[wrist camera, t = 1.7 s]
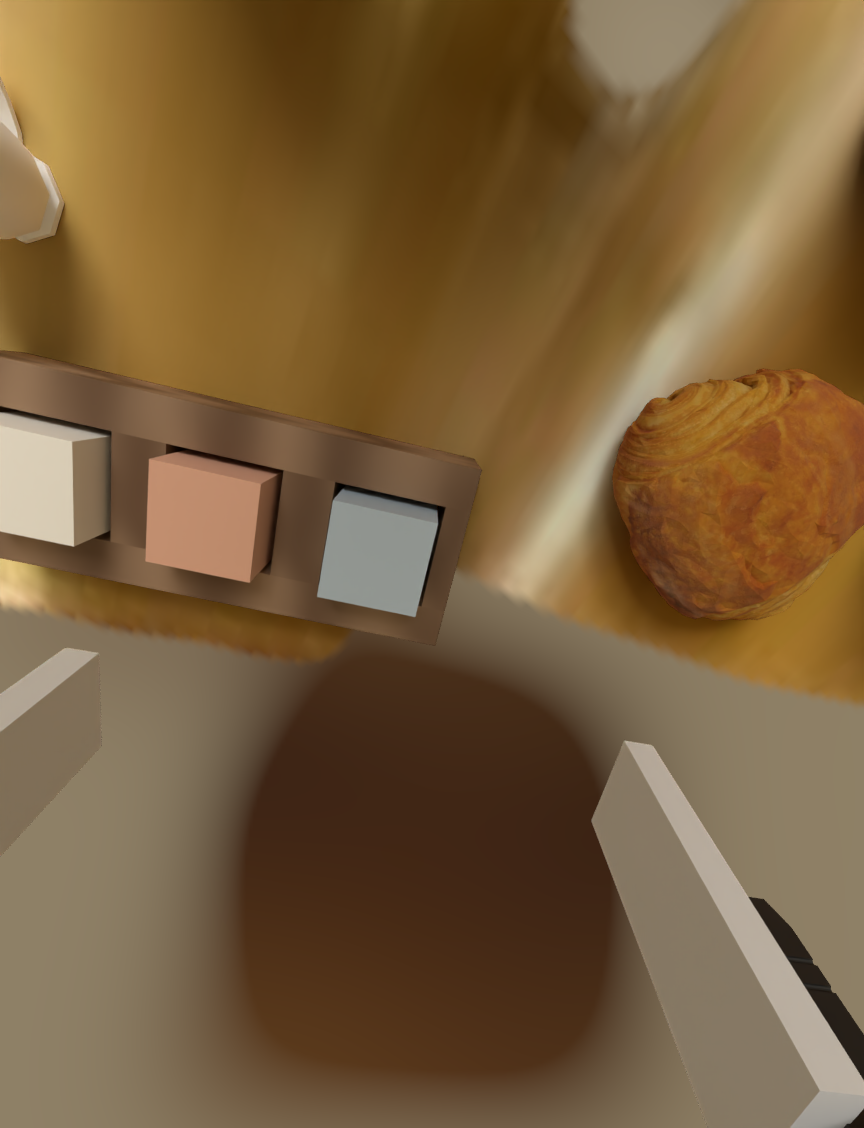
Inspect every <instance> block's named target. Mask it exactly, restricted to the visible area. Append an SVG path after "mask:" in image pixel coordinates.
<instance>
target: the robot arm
mask: <svg viewBox="0 0 864 1128" xmlns="http://www.w3.org/2000/svg"><path fill="white" fill-rule="evenodd" d="M101 738H102V736H101V702H100V671H99V653H95V652H89V651H84V650H77V649H72V648H64V649H63V650H61V651H60V652H59V653H57V654H56V655H55V656H53V657H52V658H50V659H49V660H47V661H46V662H45V663H43V664H42V665H40V666H39V667H37V668H36V669H35V670H33V671H32V672H30V673H29V674H28V675H26V676H25V677H24V678H22V679H21V680H19V681H18V682H16V683H15V684H14V685H12V686H11V687H10V688H8V689H7V690H5V691H4V692H2V693H1V694H0V856H1V855H2V854H3V853H4V852H5V851H6V850H7V849H8V848H9V846H11V844H12V843H13V842H14V841H15V840H16V839H17V838H18V837H19V836H20V834H21V833H22V832H23V831H24V830H25V829H26V828H27V827H28V826H29V825H30V824H31V823H32V822H33V820H34V819H35V818H36V817H37V816H38V815H39V814H40V813H41V812H42V811H43V810H44V808H45V807H46V806H47V805H48V804H49V803H50V802H51V801H52V800H53V799H54V798H55V796H56V795H57V794H58V793H59V792H60V791H61V790H62V789H63V788H64V787H65V786H66V784H67V783H68V782H69V781H70V780H71V779H72V778H73V777H74V776H75V775H76V773H77V772H78V771H79V770H80V769H81V768H82V767H83V766H84V765H85V764H86V763H87V761H88V760H89V759H90V758H91V757H92V756H93V755H94V754H95V752H97V751H98V750H99V748H100V747H101V746H102V739H101ZM592 824H593V826H594V829H595V832H596V834H597V837H598V840H599V842H600V844H601V848H602V850H603V853H604V855H605V858H606V861H607V863H608V866H609V869H610V871H611V874H612V876H613V879H614V882H615V884H616V887H617V890H618V892H619V895H620V897H621V900H622V903H623V906H624V908H625V911H626V913H627V916H628V919H629V921H630V924H631V927H632V929H633V932H634V934H635V937H636V940H637V943H638V945H639V948H640V950H641V953H642V956H643V958H644V961H645V964H646V966H647V969H648V972H649V974H650V977H651V980H652V982H653V985H654V988H655V990H656V993H657V995H658V998H659V1001H660V1003H661V1006H662V1008H663V1011H664V1014H665V1017H666V1019H667V1022H668V1025H669V1027H670V1030H671V1032H672V1035H673V1038H674V1040H675V1043H676V1046H677V1048H678V1051H679V1054H680V1056H681V1059H682V1061H683V1064H684V1067H685V1069H686V1072H687V1075H688V1077H689V1080H690V1083H691V1085H692V1088H693V1090H694V1093H695V1096H696V1098H697V1101H698V1104H699V1106H700V1109H701V1111H702V1114H703V1117H704V1120H705V1122H706V1125H707V1128H864V1035H863V1033H862V1031H861V1030H860V1028H859V1027H858V1025H857V1024H856V1023H855V1021H854V1020H853V1018H852V1017H851V1015H850V1014H849V1012H848V1011H847V1009H846V1008H845V1006H844V1005H843V1003H842V1002H841V1000H840V999H839V997H838V996H837V994H836V993H833V992H832V991H831V986H830V984H829V983H828V981H827V980H826V978H825V977H824V975H823V974H822V972H821V971H820V969H819V968H818V966H816V965H814V964H813V961H812V960H813V959H812V957H811V956H810V954H809V953H808V951H807V950H806V949H805V947H804V946H803V944H802V943H801V941H800V940H799V938H798V937H797V935H796V934H795V932H794V931H793V929H792V928H791V927H790V926H789V925H788V924H787V923H786V922H785V920H783V918H782V917H781V916H780V915H779V914H778V913H777V912H776V911H775V910H774V909H773V908H772V907H771V906H770V905H769V904H768V903H767V902H766V901H765V900H764V899H758V898H752V897H748V896H747V894H746V893H745V891H744V890H743V888H742V887H741V885H740V883H739V882H738V880H737V879H736V877H735V875H734V874H733V872H732V871H731V869H730V867H729V866H728V864H727V863H726V861H725V860H724V858H723V856H722V855H721V853H720V852H719V850H718V849H717V847H716V845H715V844H714V842H713V841H712V839H711V837H710V836H709V834H708V833H707V831H706V830H705V828H704V826H703V825H702V823H701V822H700V820H699V818H698V817H697V815H696V814H695V812H694V810H693V809H692V807H691V806H690V804H689V803H688V801H687V799H686V798H685V796H684V795H683V793H682V791H681V790H680V788H679V787H678V785H677V783H676V782H675V780H674V779H673V777H672V776H671V774H670V772H669V771H668V769H667V768H666V766H665V764H664V763H663V762H662V760H661V758H660V756H659V755H658V753H657V752H656V750H655V749H654V747H653V745H648V744H642V743H635V742H630V741H624V743H623V745H622V747H621V750H620V752H619V755H618V757H617V760H616V762H615V764H614V767H613V769H612V772H611V774H610V777H609V779H608V782H607V784H606V786H605V789H604V792H603V794H602V796H601V799H600V801H599V803H598V806H597V809H596V811H595V813H594V816H593V818H592Z"/></svg>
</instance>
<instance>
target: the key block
mask: <svg viewBox="0 0 864 1128" xmlns="http://www.w3.org/2000/svg"><path fill="white" fill-rule="evenodd" d="M19 411H25V412H29V413H34V414H38V415H42V416H47V417H51V418H56V419H60V420H65V421H69V422H73V423H78V424H82V425H87V426H91V427H95V428H100V429H104V430H109V431H112V439H111V530H110V531H108V532H106V533H103V534H101V535H99V536H97V537H94V538H92V539H90V540H88V541H85V542H83V543H81V544H79V545H76V546H74V547H73V546H69V545H64V544H59V543H54V542H49V541H44V540H40V539H35V538H30V537H25V536H20V535H15V534H10V533H6V532H1V531H0V558H3V559H8V560H12V561H17V562H22V563H27V564H32V565H37V566H42V567H47V568H52V569H57V570H62V571H67V572H72V573H77V574H82V575H87V576H92V577H97V578H102V579H106V580H111V581H116V582H121V583H126V584H131V585H136V586H141V587H146V588H151V589H156V590H161V591H166V592H171V593H176V594H181V595H186V596H191V597H196V598H200V599H205V600H210V601H215V602H220V603H225V604H230V605H235V606H240V607H245V608H250V609H255V610H260V611H265V612H270V613H275V614H280V615H285V616H290V617H294V618H299V619H304V620H309V621H314V622H319V623H324V624H329V625H334V626H339V627H344V628H349V629H354V630H359V631H364V632H369V633H374V634H379V635H384V636H389V637H393V638H398V639H404V640H408V641H413V642H418V643H423V644H429V645H433V646H435V645H436V641H437V637H438V634H439V630H440V626H441V622H442V618H443V615H444V611H445V607H446V603H447V600H448V596H449V592H450V588H451V585H452V581H453V577H454V573H455V569H456V566H457V562H458V558H459V554H460V551H461V547H462V543H463V539H464V536H465V532H466V528H467V524H468V520H469V517H470V513H471V509H472V505H473V502H474V498H475V494H476V490H477V487H478V483H479V479H480V475H481V471H482V470H481V468H480V467H479V465H478V464H477V462H476V461H475V459H472V458H468V457H464V456H459V455H455V454H451V453H447V452H442V451H438V450H434V449H430V448H425V447H421V446H417V445H413V444H409V443H404V442H400V441H396V440H392V439H387V438H383V437H379V436H375V435H371V434H366V433H362V432H358V431H354V430H349V429H345V428H341V427H337V426H333V425H328V424H324V423H320V422H316V421H311V420H307V419H303V418H299V417H294V416H290V415H286V414H282V413H278V412H273V411H269V410H265V409H261V408H256V407H252V406H248V405H244V404H240V403H235V402H231V401H227V400H223V399H218V398H214V397H210V396H206V395H201V394H197V393H193V392H189V391H185V390H180V389H176V388H172V387H168V386H163V385H159V384H155V383H151V382H147V381H142V380H138V379H134V378H130V377H125V376H121V375H117V374H113V373H108V372H104V371H100V370H96V369H92V368H87V367H83V366H79V365H75V364H70V363H66V362H62V361H58V360H54V359H49V358H45V357H41V356H37V355H32V354H28V353H22V352H11V351H0V412H19ZM187 449H192V450H197V451H201V452H206V453H210V454H214V455H219V456H223V457H228V458H232V459H236V460H241V461H245V462H250V463H254V464H258V465H263V466H267V467H272V468H276V469H280V470H284V471H283V479H282V487H281V495H280V502H279V510H278V518H277V526H276V533H275V541H274V549H273V557H272V559H271V560H270V561H269V562H268V563H267V565H266V566H265V567H264V568H263V569H262V570H261V571H260V572H259V573H258V574H257V575H256V576H255V578H254V579H253V580H252V581H251V582H250V583H248V582H243V581H238V580H233V579H228V578H224V577H219V576H214V575H209V574H204V573H199V572H195V571H190V570H185V569H180V568H175V567H170V566H165V565H161V564H156V563H151V562H146V561H145V558H146V530H147V502H148V474H149V459H151V458H155V457H159V456H163V455H167V454H171V453H175V452H179V451H183V450H187ZM345 484H347V485H351V486H355V487H360V488H364V489H369V490H373V491H377V492H382V493H386V494H391V495H395V496H399V497H404V498H408V499H413V500H417V501H421V502H426V503H430V504H435V505H439V506H440V508H439V512H438V526H437V530H436V534H435V538H434V543H433V547H432V551H431V555H430V559H429V563H428V567H427V571H426V575H425V579H424V584H423V588H422V592H421V596H420V600H419V604H418V608H417V612H416V616H415V617H412V616H408V615H403V614H398V613H393V612H388V611H383V610H379V609H374V608H369V607H364V606H359V605H354V604H350V603H345V602H340V601H335V600H330V599H325V598H320V597H317V593H318V587H319V581H320V575H321V569H322V563H323V557H324V551H325V545H326V539H327V533H328V527H329V521H330V515H331V509H332V503H333V500H334V498H335V497H336V496H337V495H338V494H339V493H340V491H341V490H342V489H343V488H344V487H345Z"/></svg>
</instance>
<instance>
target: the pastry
mask: <svg viewBox="0 0 864 1128" xmlns="http://www.w3.org/2000/svg"><path fill="white" fill-rule="evenodd" d="M612 480H613V493H614V497H615V500H616V503H617V506H618V508H619V510H620V515H621V518H622V520H623V521H624V522H625V525H626V527H627V529H628V531H629V533H630V537H631V538H630V546H631V550H632V553H633V555H634V557H635V559H636V561H637V563H638V565H639V566H640V567H641V569H642V570H643V572H644V573H645V574H646V575H647V577H648V578H649V579H650V581H651V582H652V583H653V584H654V586H655V588H656V590H657V591H658V593H659V594H660V595H661V596H662V597H663V598H664V599H665V600H666V602H667V603H668V605H670V606H671V607H673V608H674V609H675V610H677V611H678V612H680V613H681V614H683V615H684V616H687V617H690V618H693V619H697V618H700V617H705V618H708V619H711V620H727V619H734V620H746V619H752V620H758V619H762V618H765V617H768V616H772V615H775V614H777V613H780V612H783V611H785V610H786V609H788V608H789V607H790V606H791V604H792V603H793V601H794V599H795V598H797V597H798V596H800V595H801V594H802V593H804V592H805V591H807V590H808V589H809V588H810V587H811V585H812V584H813V583H814V581H815V580H816V579H817V578H818V577H819V576H820V574H821V573H822V572H823V571H824V569H825V567H826V565H827V563H828V561H829V560H830V559H831V558H832V557H833V556H834V555H835V554H836V553H837V552H838V551H839V550H840V549H842V548H843V546H844V544H845V543H846V541H847V540H848V539H849V538H850V537H851V536H852V535H853V534H854V533H855V532H856V531H857V530H858V529H859V528H860V527H861V526H863V525H864V404H862V403H861V402H859V401H857V400H855V399H853V398H851V397H849V396H847V395H845V394H843V392H842V391H841V390H840V389H838V388H837V387H835V386H834V385H831V384H829V383H827V382H825V381H823V380H821V379H819V378H818V377H817V376H816V375H814V374H811V373H807V372H806V371H804V370H802V369H787V370H785V371H775V370H768V369H764V368H763V369H759V370H757V371H756V373H755V374H752V375H745V376H743V377H740V378H737V379H735V380H733V381H732V380H711V379H709V381H708V382H705V383H692V384H689V385H688V386H685V387H683V388H681V389H679V390H676V391H675V392H674V393H672V394H671V395H670V396H669V397H668V398H667V399H666V398H654V399H652V400H651V401H650V402H649V403H647V404H646V406H645V407H644V409H643V410H642V412H641V413H640V415H639V417H638V418H637V420H636V421H635V422H633V424H632V425H631V426H630V427H628V429H627V431H626V433H625V435H624V439H623V442H622V443H621V445H620V448H619V451H618V455H617V459H616V463H615V466H614V468H613V476H612Z"/></svg>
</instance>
